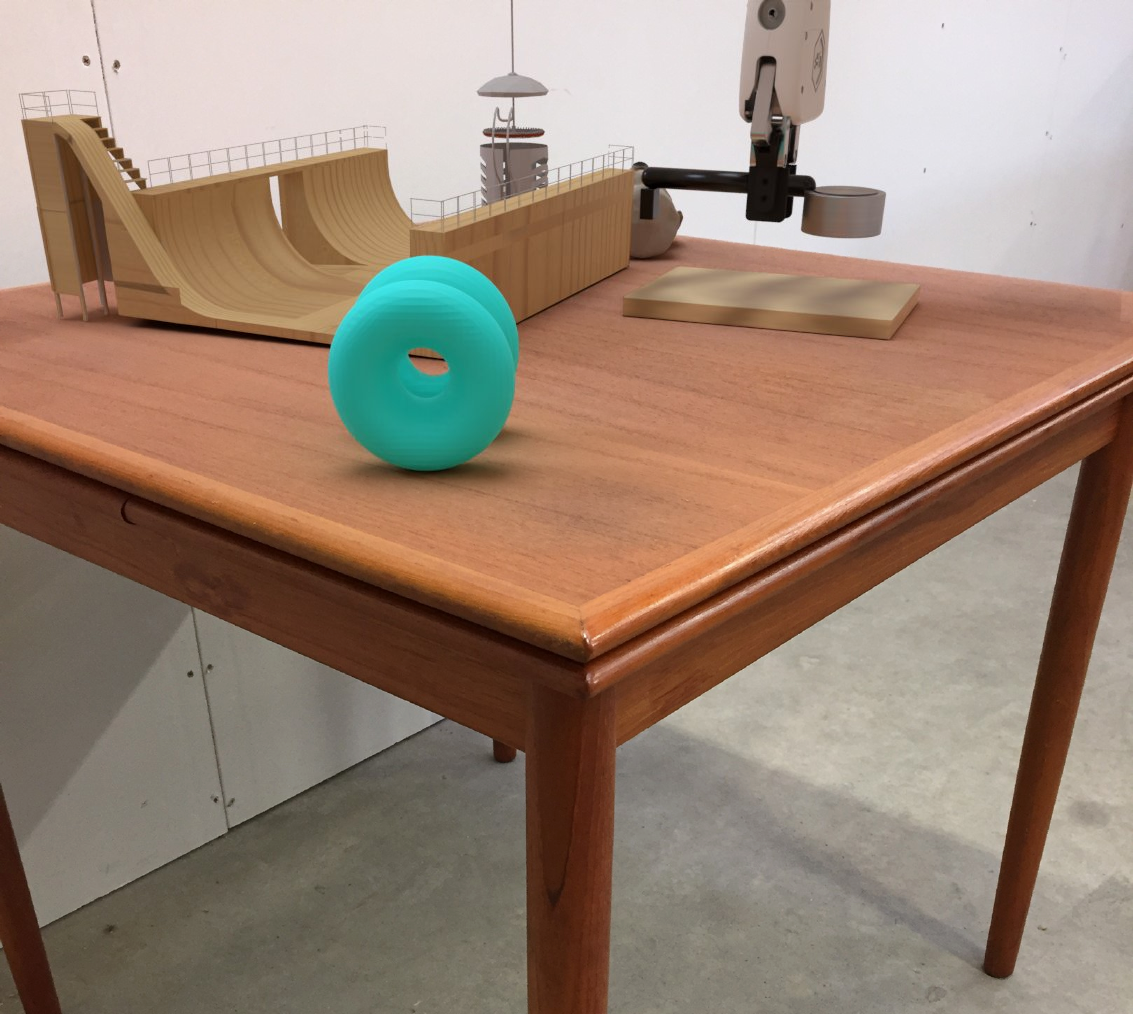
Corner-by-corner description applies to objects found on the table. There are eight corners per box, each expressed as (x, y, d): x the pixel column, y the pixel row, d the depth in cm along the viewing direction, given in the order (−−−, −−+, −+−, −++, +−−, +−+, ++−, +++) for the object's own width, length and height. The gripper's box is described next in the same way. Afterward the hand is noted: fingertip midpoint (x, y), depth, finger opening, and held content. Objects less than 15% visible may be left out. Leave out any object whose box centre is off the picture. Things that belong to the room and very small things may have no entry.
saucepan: (887, 228, 101) (894, 175, 99) (873, 240, 96) (880, 184, 94) (652, 212, 107) (654, 162, 105) (627, 223, 102) (629, 170, 100)
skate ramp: (447, 373, 89) (441, 126, 81) (57, 317, 100) (15, 93, 91) (629, 276, 121) (639, 91, 112) (318, 241, 131) (305, 69, 123)
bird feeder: (564, 217, 148) (564, -29, 134) (544, 233, 138) (543, -31, 125) (484, 215, 149) (477, -29, 136) (459, 230, 139) (449, -31, 126)
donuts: (333, 477, 67) (314, 285, 62) (358, 424, 75) (344, 250, 70) (515, 478, 67) (512, 286, 62) (521, 424, 75) (518, 251, 70)
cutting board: (918, 302, 107) (920, 284, 106) (889, 339, 95) (892, 319, 94) (676, 283, 114) (677, 265, 113) (622, 315, 102) (622, 296, 101)
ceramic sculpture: (593, 164, 117) (581, 157, 131) (591, 261, 122) (580, 245, 135) (703, 165, 118) (680, 158, 131) (698, 261, 122) (676, 245, 135)
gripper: (819, -53, 84) (791, 236, 94) (862, -45, 96) (833, 209, 106) (714, -52, 86) (697, 229, 96) (768, -45, 99) (748, 203, 108)
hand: (768, 217), depth 101 cm, fingers closed on saucepan
